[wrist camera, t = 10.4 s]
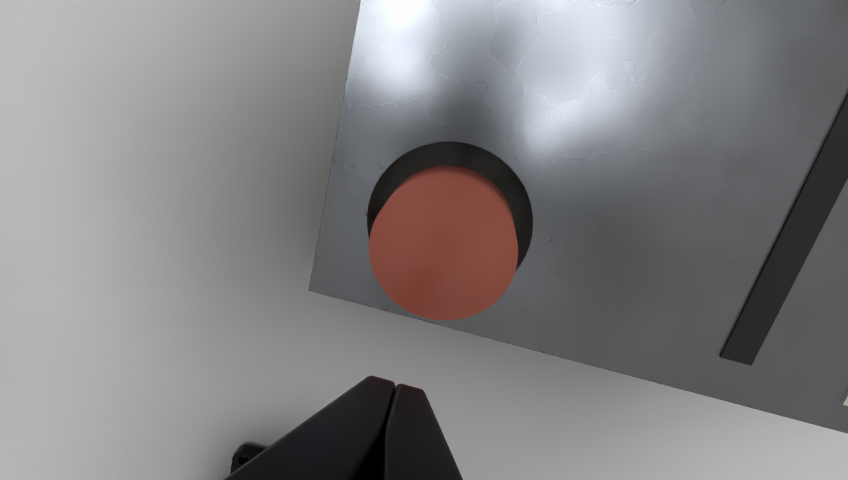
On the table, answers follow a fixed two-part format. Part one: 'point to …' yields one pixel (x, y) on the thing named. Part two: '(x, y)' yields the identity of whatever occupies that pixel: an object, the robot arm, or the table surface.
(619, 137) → the panel
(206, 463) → the table surface
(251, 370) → the table surface
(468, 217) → the button
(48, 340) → the table surface
